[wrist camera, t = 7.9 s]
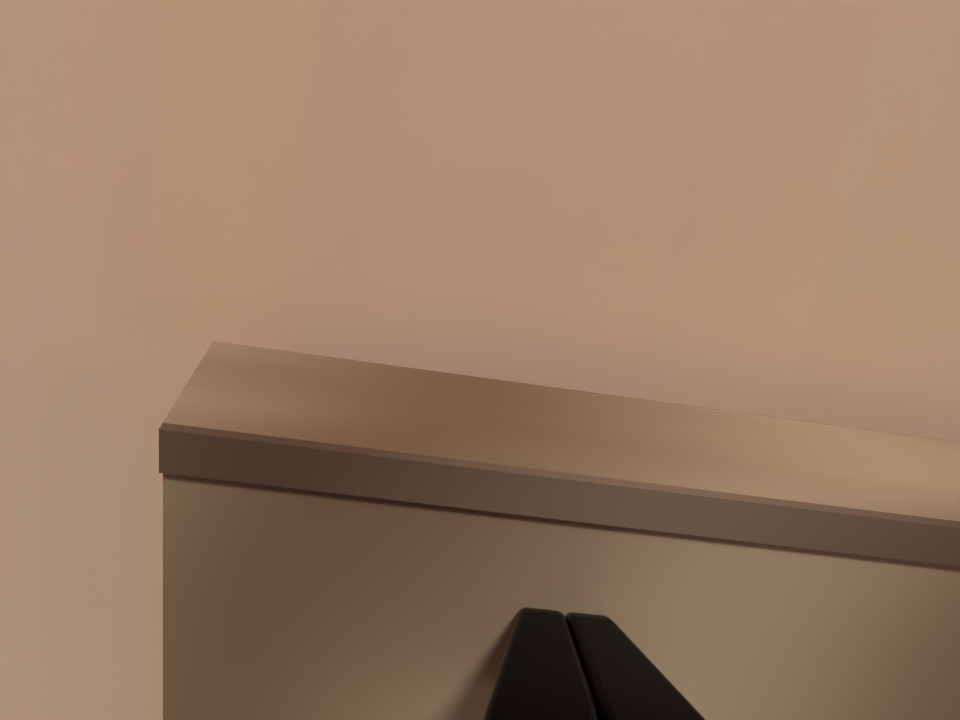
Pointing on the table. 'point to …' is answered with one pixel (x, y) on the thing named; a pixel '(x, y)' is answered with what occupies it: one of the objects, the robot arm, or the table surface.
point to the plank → (540, 546)
